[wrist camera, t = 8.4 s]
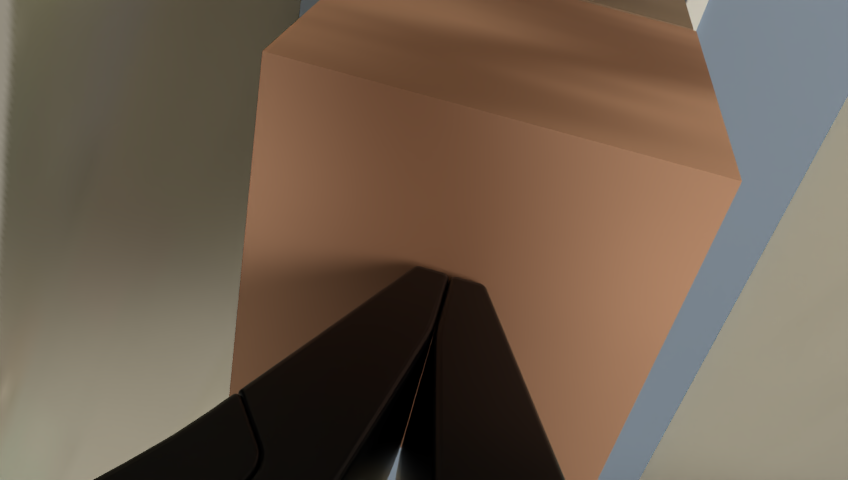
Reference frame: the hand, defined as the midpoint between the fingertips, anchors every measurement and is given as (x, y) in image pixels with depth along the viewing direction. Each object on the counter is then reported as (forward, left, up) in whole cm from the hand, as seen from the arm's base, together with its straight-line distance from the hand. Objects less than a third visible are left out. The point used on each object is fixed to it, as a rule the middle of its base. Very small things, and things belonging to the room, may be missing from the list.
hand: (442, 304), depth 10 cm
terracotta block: (0, 0, -5) cm, 5 cm away
